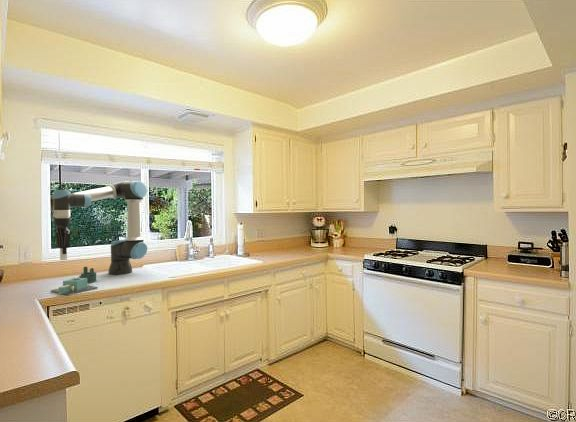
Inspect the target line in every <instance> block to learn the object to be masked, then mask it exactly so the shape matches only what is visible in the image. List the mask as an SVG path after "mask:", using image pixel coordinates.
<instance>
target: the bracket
mask: <svg viewBox="0 0 576 422" xmlns="http://www.w3.org/2000/svg"><path fill="white" fill-rule="evenodd" d="M78 278H87V284H91V283H96V282H97V272H96V271H95V269H94V268H93V267H91V268H89V272H88V267H87V266H84V267H83V272H82V273H80V275H79V276H78Z"/></svg>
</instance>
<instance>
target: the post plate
mask: <svg viewBox="0 0 576 422" xmlns="http://www.w3.org/2000/svg"><path fill="white" fill-rule="evenodd" d="M97 289H98V286H95V285H89V284H87V287H86V288H83V289H80V290H74V286H71V291H69V292H66V293H59V287H58V288H53V289H50V292H51V293H55V294H60V295H63V296H70V295H75V294H79V293H83V292H89V291H92V290H97Z"/></svg>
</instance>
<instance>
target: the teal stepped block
mask: <svg viewBox="0 0 576 422" xmlns="http://www.w3.org/2000/svg"><path fill="white" fill-rule="evenodd" d="M87 285H88V283H87V278H79V277H73V278H68V279H65V280H63V281H62V285H61V286H59V287H58V288H59V293H66V292H69V291H71V286H74V290H80V289H83V288H86V287H87ZM59 293H58V294H59Z"/></svg>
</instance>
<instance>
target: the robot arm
mask: <svg viewBox="0 0 576 422" xmlns="http://www.w3.org/2000/svg"><path fill="white" fill-rule="evenodd" d="M147 194H148V189H147V186H146V185H145V183H144V182H142V181H141V180H128V181H125V180H124V181H123V180H122V181H119V182H116V183H115V182H114V183H112V184H108V185H106V186H104V187H98V188H92V189H88V190H87V189H86V190H83V191H81V190H80V191H76V192H72V193H71V191H70V190H69V189H55V190H54V191H53V195H52V200H53V213H52V214H53V217H54V218H53V223H54V224H53V225H54V226H56V229H53V232H54V236H55V242H56V246H57V248H58V249H59V260H60V261H65V260H68V252H67V250H68V248H69V247H70V244H71V234H72V230H71V229H69V225H71V224H72V223H71V208H78V207H79V208H85V207H87V208H88V207H90V206H91V204H92V202H95V201H101V200H106V199H109V198H110V199H115V198H116V199H118V198H122V199H123V198H124V201H125V202H126V203H127V204H126V205H127V206H126V208H127V219H126V220H127V221H126V222H127V228H126V230H127V237H126V238H125V239H120V240H113V241H111V243H110V264H109V268H108V270H107V271H108V274H109V275H122V274H123V275H125V274H130V273H133V267H132V264H131V261H130V259H132V260H141V259H142V258H144V257H145V255H146V254H147V251H148V245H147V244H146V243H145V242H144V238H143V237H142V202H143V201H144V197H146V196H147Z"/></svg>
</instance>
